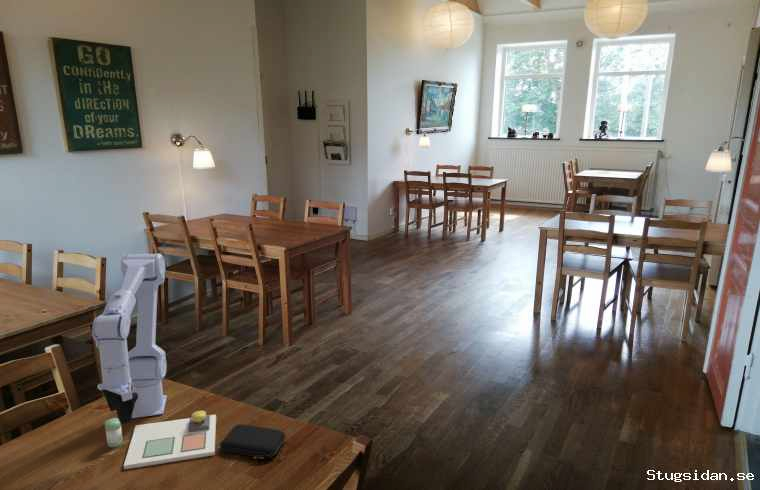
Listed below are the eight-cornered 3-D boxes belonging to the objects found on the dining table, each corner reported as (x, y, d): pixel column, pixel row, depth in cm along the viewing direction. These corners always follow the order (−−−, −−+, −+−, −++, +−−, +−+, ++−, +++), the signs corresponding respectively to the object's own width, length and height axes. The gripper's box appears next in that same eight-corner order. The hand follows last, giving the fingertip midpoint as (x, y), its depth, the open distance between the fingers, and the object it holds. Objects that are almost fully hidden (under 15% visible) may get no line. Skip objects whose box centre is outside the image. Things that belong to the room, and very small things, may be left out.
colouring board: (136, 428, 130) (135, 421, 129) (216, 417, 135) (215, 410, 135) (124, 469, 115) (123, 461, 114) (214, 455, 120) (214, 447, 120)
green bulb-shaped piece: (109, 439, 125) (106, 419, 123) (124, 437, 126) (121, 417, 124) (105, 448, 122) (103, 427, 120) (121, 446, 123) (118, 425, 121)
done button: (192, 418, 131) (192, 411, 130) (206, 416, 132) (206, 409, 132) (191, 426, 128) (191, 419, 127) (206, 424, 129) (205, 417, 128)
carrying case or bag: (214, 456, 120) (271, 466, 118) (214, 445, 120) (271, 454, 117) (235, 430, 131) (288, 438, 128) (235, 420, 130) (288, 428, 127)
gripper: (87, 358, 118) (93, 409, 120) (105, 380, 107) (111, 435, 110) (119, 350, 122) (124, 399, 125) (139, 370, 112) (144, 423, 115)
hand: (120, 415), depth 118 cm, fingers open, 7 cm apart
